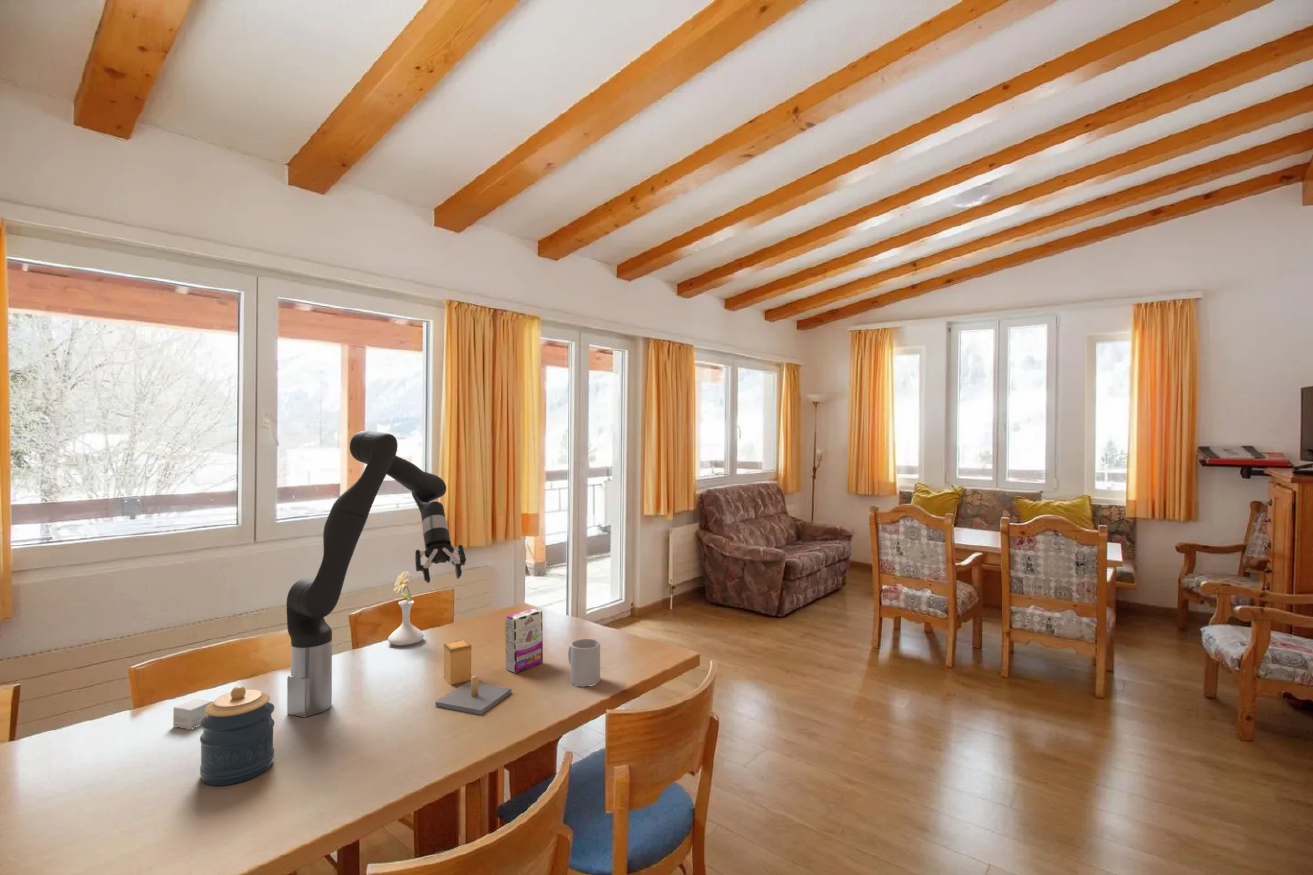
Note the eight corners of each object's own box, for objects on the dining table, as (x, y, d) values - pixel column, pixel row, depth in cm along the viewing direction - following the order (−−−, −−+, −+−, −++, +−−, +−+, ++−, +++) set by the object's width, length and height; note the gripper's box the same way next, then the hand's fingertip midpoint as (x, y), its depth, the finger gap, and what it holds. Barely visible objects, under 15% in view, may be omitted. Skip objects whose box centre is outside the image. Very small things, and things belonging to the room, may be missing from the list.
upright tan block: (471, 679, 178) (471, 645, 178) (450, 684, 174) (450, 649, 174) (464, 673, 183) (464, 639, 183) (443, 677, 179) (444, 643, 179)
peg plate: (481, 714, 156) (481, 690, 156) (435, 706, 161) (435, 682, 161) (511, 692, 169) (511, 670, 169) (468, 685, 174) (468, 663, 174)
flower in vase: (387, 639, 212) (387, 567, 211) (422, 635, 216) (423, 564, 216) (388, 652, 200) (388, 575, 199) (425, 647, 204) (426, 572, 204)
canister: (261, 747, 139) (261, 669, 139) (283, 767, 131) (284, 685, 131) (191, 771, 129) (191, 687, 129) (210, 795, 121) (211, 705, 121)
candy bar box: (532, 659, 194) (532, 607, 194) (543, 662, 191) (543, 610, 191) (504, 669, 186) (504, 615, 185) (514, 674, 183) (515, 618, 182)
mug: (606, 681, 177) (606, 643, 177) (582, 690, 172) (582, 650, 171) (580, 669, 186) (581, 633, 186) (557, 677, 180) (557, 640, 180)
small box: (213, 720, 152) (213, 700, 152) (190, 730, 147) (190, 710, 147) (195, 717, 154) (195, 697, 154) (172, 727, 148) (172, 707, 148)
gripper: (412, 529, 186) (419, 576, 177) (461, 524, 192) (470, 569, 184) (410, 542, 191) (417, 589, 182) (458, 536, 198) (466, 581, 189)
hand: (443, 579), depth 183 cm, fingers open, 8 cm apart
